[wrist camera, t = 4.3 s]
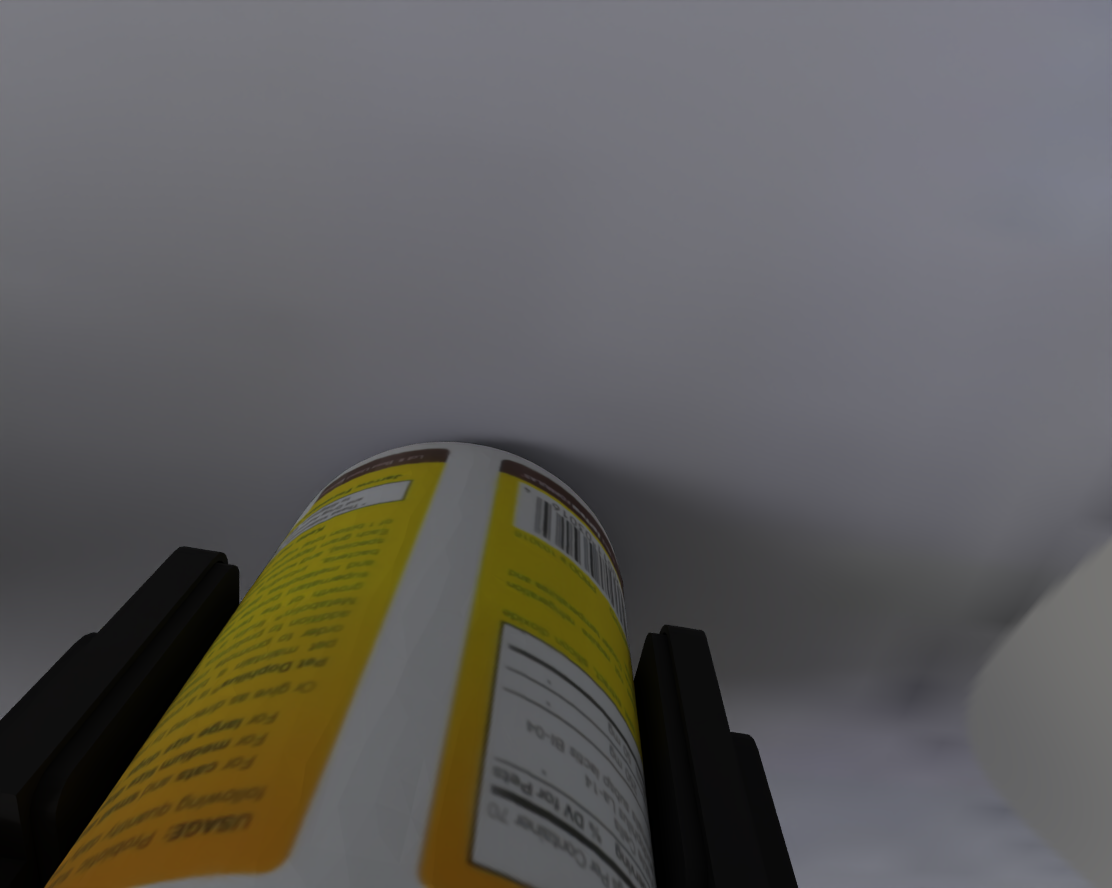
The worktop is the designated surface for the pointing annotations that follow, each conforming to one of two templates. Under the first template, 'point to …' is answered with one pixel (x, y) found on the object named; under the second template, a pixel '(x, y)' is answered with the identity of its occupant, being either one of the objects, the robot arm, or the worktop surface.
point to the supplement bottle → (401, 702)
